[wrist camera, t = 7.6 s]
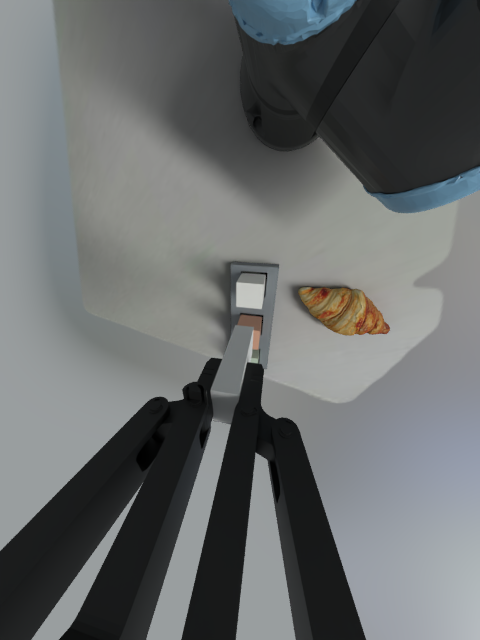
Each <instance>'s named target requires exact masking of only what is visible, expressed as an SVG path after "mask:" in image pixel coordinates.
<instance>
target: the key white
mask: <svg viewBox="0 0 480 640" xmlns="http://www.w3.org/2000/svg"><path fill="white" fill-rule="evenodd" d="M265 279H266V275H265V274H251V273H242V274H241V275H240V277H239V279H238V281H237V282H236V307H244V308H254V309H262V305H263V299H264V290H265Z"/></svg>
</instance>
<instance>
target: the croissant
mask: <svg viewBox="0 0 480 640" xmlns="http://www.w3.org/2000/svg"><path fill="white" fill-rule="evenodd" d="M298 293H299V295H300V298H301V301H302V302H303V303H304V304H305V305H306V306H307V307H308V309H309V312H310V313H311V314H312V315H313V316H314V317H316V318H317V319H319V320H320V321H321V322H322V323H323V324H324V325H325V326H326V327H327V328H328V329H330V330H332V331H334V332H336V333H339V334H343V335H354V334H359V335H363V334H365V333H369V334H381V333H382V334H387V333H388V332H389V331H390V327H389V325H388V324H387V323H385V322H384V319H383V316H382V314H381V313H380V311H378V310H377V308H376V307H375V306H374V305H373V302H372V301H371V300H370V299H368V298H367V297H365V294H364V292H363V291H361V290H358V289H351V290H350V289H348V288H341V289H329V288H324V287H323V288H316V289H315V288H312V287H302V288H301V289H299V290H298Z"/></svg>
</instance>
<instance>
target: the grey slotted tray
mask: <svg viewBox="0 0 480 640" xmlns="http://www.w3.org/2000/svg"><path fill="white" fill-rule="evenodd" d="M243 271H250V272H264V273H267V284H266V293H264V299H263V305H262V309H254V308H244V307H236V282H237V281H238V279H239V277H240V275H241V274H242V273H243ZM278 272H279V265H278V264H263V263H247V262H232V263H231V335H232V332H233V330H234V327H235V325H237V324H238V321H239V319H240V316H241V315H242V313H248V314H258V315H264V316H263V327H262V329H261V335H260V341H259V348H258V349H260V359H259V360H258V364H262V366H263V369H267V363H268V354H269V346H270V338H271V330H272V321H273V313H274V305H275V297H276V289H277V280H278Z"/></svg>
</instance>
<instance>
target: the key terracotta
mask: <svg viewBox="0 0 480 640" xmlns="http://www.w3.org/2000/svg"><path fill="white" fill-rule="evenodd" d="M261 324H262V317H259V316H249V315H241V316H240V319H239V321H238V324H237V325H240V326H249V327H254V329H253V347H252V349H255V350H258V348H259V341H260V335H261Z"/></svg>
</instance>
